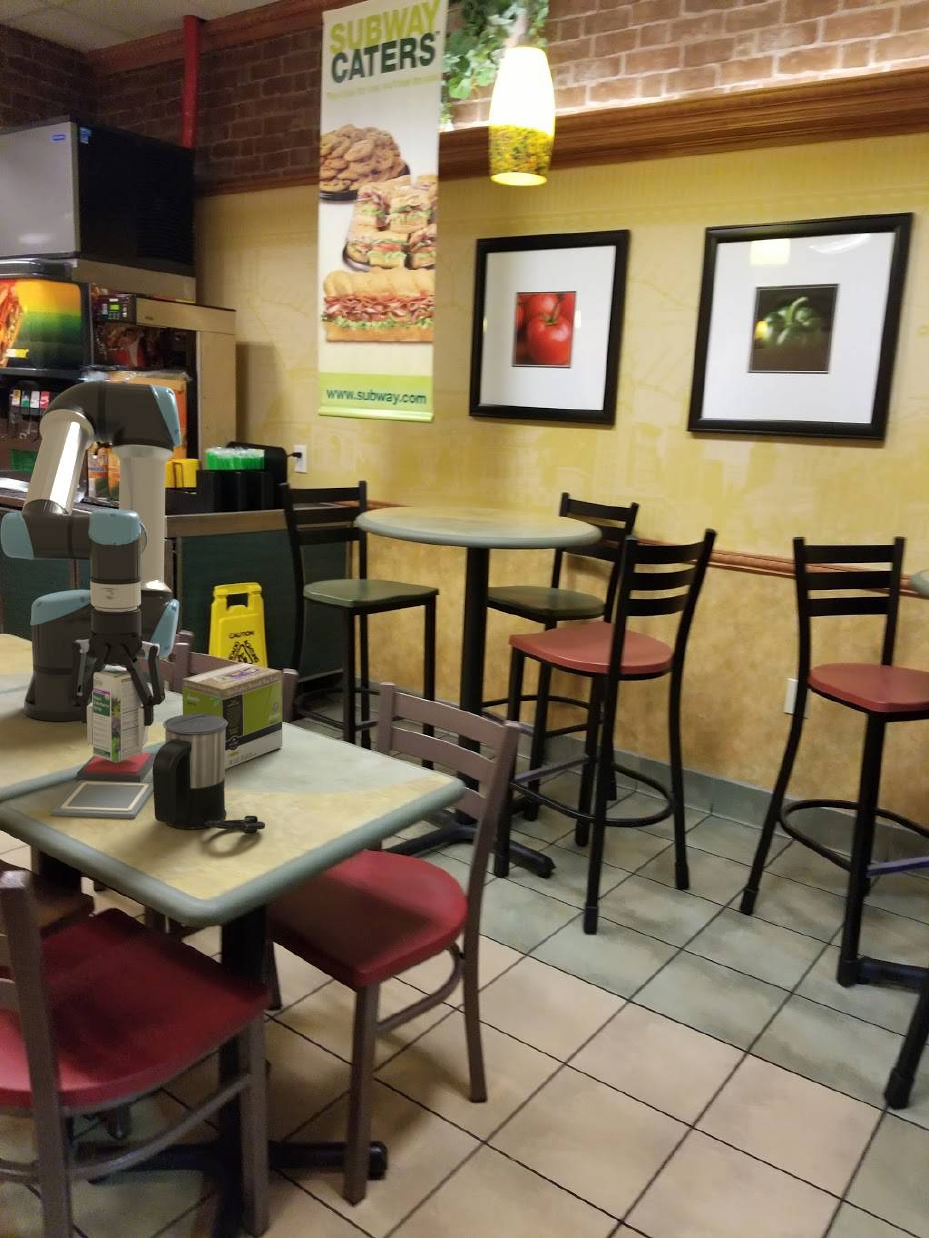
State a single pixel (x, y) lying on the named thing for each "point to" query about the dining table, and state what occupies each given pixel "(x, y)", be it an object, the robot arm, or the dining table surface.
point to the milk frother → (194, 775)
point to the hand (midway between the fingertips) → (117, 742)
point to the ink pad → (117, 769)
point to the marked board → (104, 799)
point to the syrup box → (115, 715)
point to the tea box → (240, 707)
